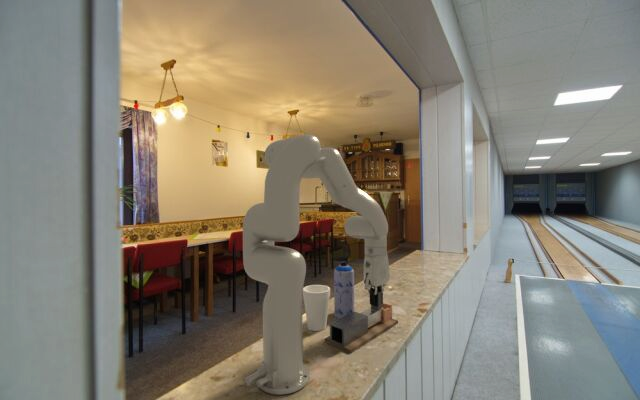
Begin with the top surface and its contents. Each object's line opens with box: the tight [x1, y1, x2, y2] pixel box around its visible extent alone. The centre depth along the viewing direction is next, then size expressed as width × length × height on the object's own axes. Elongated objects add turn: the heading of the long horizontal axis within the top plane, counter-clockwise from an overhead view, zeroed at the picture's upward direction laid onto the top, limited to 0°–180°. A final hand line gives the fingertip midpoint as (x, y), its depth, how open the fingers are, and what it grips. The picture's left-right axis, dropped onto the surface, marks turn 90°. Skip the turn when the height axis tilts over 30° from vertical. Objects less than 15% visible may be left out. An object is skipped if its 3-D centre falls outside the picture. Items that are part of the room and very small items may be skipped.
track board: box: [323, 318, 399, 354], centre depth 94 cm, size 27×10×1 cm, turn 136°
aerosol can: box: [333, 260, 355, 319], centre depth 108 cm, size 8×8×20 cm
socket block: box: [380, 301, 393, 323], centre depth 102 cm, size 5×5×5 cm
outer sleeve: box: [329, 311, 368, 347], centre depth 88 cm, size 12×5×5 cm, turn 136°
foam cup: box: [302, 284, 331, 332], centre depth 98 cm, size 10×9×13 cm
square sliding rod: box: [360, 291, 384, 328], centre depth 95 cm, size 16×4×10 cm, turn 136°
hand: (376, 303), depth 99 cm, fingers closed on square sliding rod, 2 cm apart
